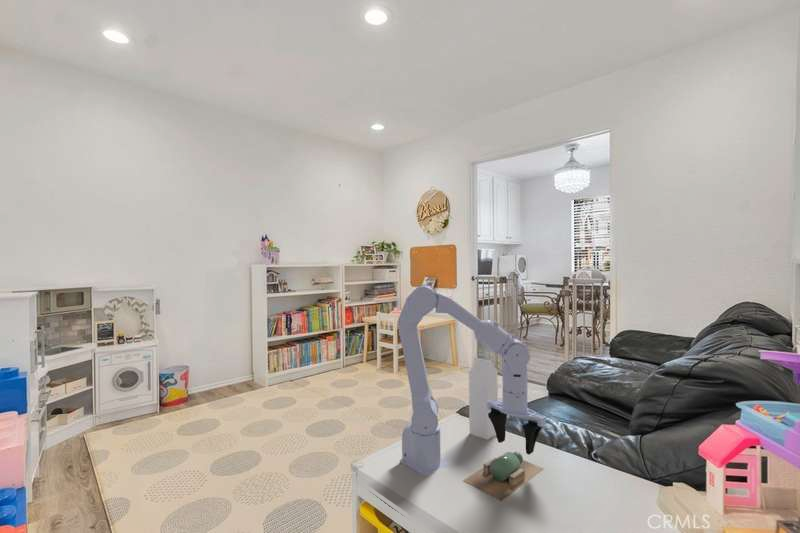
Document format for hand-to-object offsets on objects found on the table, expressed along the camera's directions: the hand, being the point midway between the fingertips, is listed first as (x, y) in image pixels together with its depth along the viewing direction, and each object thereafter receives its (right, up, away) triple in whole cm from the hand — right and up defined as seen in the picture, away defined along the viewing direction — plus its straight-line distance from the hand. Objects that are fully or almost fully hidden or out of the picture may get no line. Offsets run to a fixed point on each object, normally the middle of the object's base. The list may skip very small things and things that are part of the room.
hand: (515, 446), depth 90 cm
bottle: (-6, -3, -6) cm, 9 cm away
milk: (-3, -6, +18) cm, 19 cm away
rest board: (-4, -5, -3) cm, 7 cm away
